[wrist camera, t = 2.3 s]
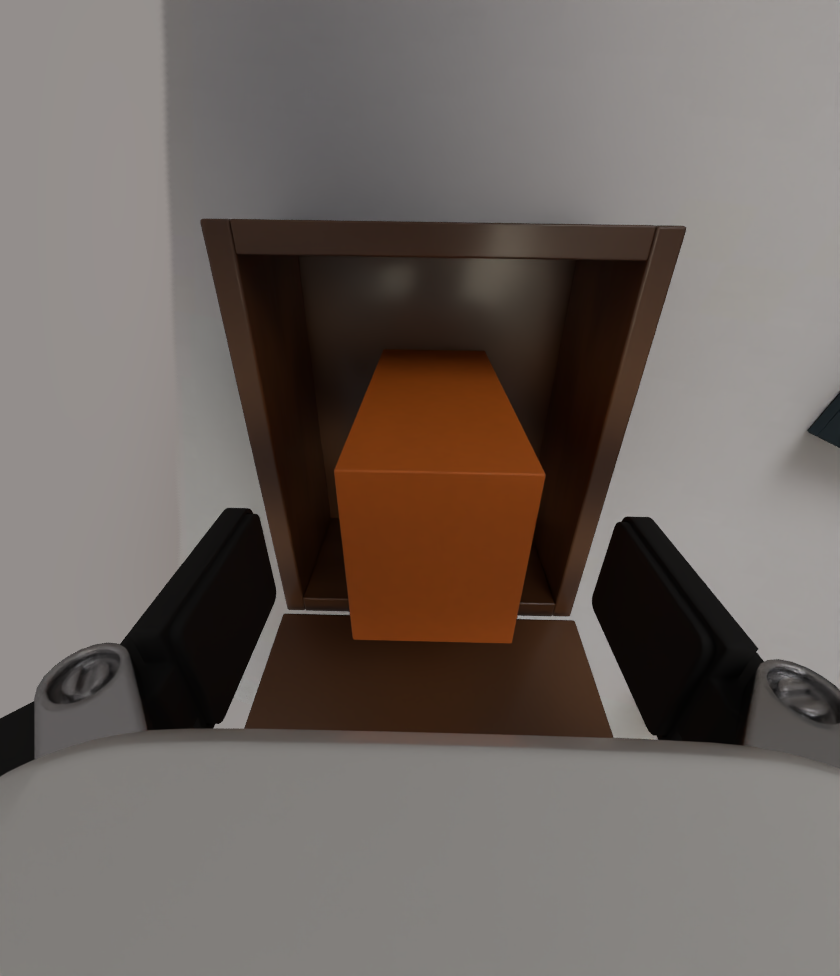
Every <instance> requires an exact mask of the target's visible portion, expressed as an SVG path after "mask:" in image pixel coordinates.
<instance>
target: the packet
mask: <svg viewBox="0 0 840 976" xmlns="http://www.w3.org/2000/svg"><path fill="white" fill-rule="evenodd" d="M334 476H335V485H336V494H337V503H338V511H339V520H340V529H341V538H342V547H343V556H344V565H345V574H346V583H347V592H348V601H349V610H350V619H351V628H352V637H353V639H354V640H389V641H430V642H471V643H512V640H513V635H514V630H515V625H516V620H517V615H518V610H519V605H520V600H521V595H522V590H523V585H524V580H525V575H526V570H527V565H528V560H529V555H530V550H531V545H532V541H533V536H534V531H535V526H536V521H537V516H538V511H539V506H540V501H541V496H542V491H543V486H544V481H545V476H546V475H545V472H544V470H543V468H542V466H541V464H540V462H539V460H538V458H537V456H536V454H535V452H534V450H533V448H532V446H531V444H530V442H529V440H528V438H527V436H526V434H525V432H524V430H523V428H522V426H521V424H520V422H519V420H518V418H517V416H516V413H515V411H514V409H513V407H512V405H511V403H510V401H509V399H508V397H507V395H506V393H505V391H504V389H503V387H502V385H501V383H500V381H499V379H498V377H497V375H496V373H495V371H494V369H493V367H492V365H491V363H490V361H489V359H488V357H487V355H486V353H485V351H456V350H400V349H384V350H383V352H382V354H381V357H380V359H379V362H378V364H377V366H376V369H375V371H374V374H373V376H372V379H371V381H370V384H369V386H368V389H367V391H366V393H365V396H364V398H363V401H362V403H361V406H360V408H359V411H358V413H357V416H356V418H355V420H354V423H353V425H352V428H351V430H350V433H349V435H348V438H347V440H346V442H345V445H344V447H343V450H342V452H341V455H340V457H339V460H338V462H337V465H336V467H335V469H334Z"/></svg>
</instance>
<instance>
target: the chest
mask: <svg viewBox="0 0 840 976" xmlns="http://www.w3.org/2000/svg"><path fill="white" fill-rule="evenodd" d="M200 223H201V227H202V232H203V236H204V240H205V245H206V249H207V254H208V258H209V262H210V267H211V271H212V276H213V280H214V285H215V289H216V293H217V298H218V302H219V307H220V311H221V316H222V320H223V324H224V329H225V333H226V338H227V342H228V347H229V351H230V355H231V360H232V364H233V369H234V373H235V378H236V382H237V386H238V391H239V395H240V400H241V404H242V408H243V413H244V417H245V422H246V426H247V431H248V435H249V439H250V444H251V448H252V453H253V457H254V462H255V466H256V470H257V475H258V479H259V484H260V488H261V493H262V497H263V501H264V506H265V510H266V515H267V519H268V524H269V528H270V532H271V537H272V541H273V546H274V550H275V554H276V559H277V563H278V568H279V572H280V577H281V581H282V585H283V590H284V594H285V599H286V603H287V608H288V609H289V610H305V609H306V610H313V611H350V610H349V601H348V592H347V583H346V574H345V565H344V556H343V547H342V538H341V529H340V520H339V511H338V503H337V494H336V485H335V476H334V469H335V467H336V465H337V462H338V460H339V457H340V455H341V452H342V450H343V447H344V445H345V442H346V440H347V438H348V435H349V433H350V430H351V428H352V425H353V423H354V420H355V418H356V416H357V413H358V411H359V408H360V406H361V403H362V401H363V398H364V396H365V393H366V391H367V389H368V386H369V384H370V381H371V379H372V376H373V374H374V371H375V369H376V366H377V364H378V362H379V359H380V357H381V354H382V352H383V350H384V349H400V350H456V351H485V353H486V355H487V357H488V359H489V361H490V363H491V365H492V367H493V369H494V371H495V373H496V375H497V377H498V379H499V381H500V383H501V385H502V387H503V389H504V391H505V393H506V395H507V397H508V399H509V401H510V403H511V405H512V407H513V409H514V411H515V413H516V416H517V418H518V420H519V422H520V424H521V426H522V428H523V430H524V432H525V434H526V436H527V438H528V440H529V442H530V444H531V446H532V448H533V450H534V452H535V454H536V456H537V458H538V460H539V462H540V464H541V466H542V468H543V470H544V472H545V475H546V476H545V481H544V486H543V491H542V496H541V501H540V506H539V511H538V516H537V521H536V526H535V531H534V536H533V541H532V545H531V550H530V555H529V560H528V565H527V570H526V575H525V580H524V585H523V590H522V595H521V600H520V605H519V610H518V615H523V616H552V615H553V616H570V614H571V611H572V607H573V604H574V601H575V597H576V594H577V591H578V587H579V584H580V581H581V577H582V574H583V571H584V567H585V564H586V561H587V557H588V554H589V551H590V547H591V544H592V541H593V538H594V534H595V531H596V528H597V524H598V521H599V518H600V514H601V511H602V508H603V504H604V501H605V498H606V494H607V491H608V488H609V484H610V481H611V478H612V474H613V471H614V468H615V464H616V461H617V458H618V454H619V451H620V448H621V444H622V441H623V438H624V434H625V431H626V428H627V424H628V421H629V418H630V415H631V411H632V408H633V405H634V401H635V398H636V395H637V391H638V388H639V385H640V381H641V378H642V375H643V371H644V368H645V365H646V361H647V358H648V355H649V351H650V348H651V345H652V341H653V338H654V335H655V331H656V328H657V325H658V321H659V318H660V315H661V311H662V308H663V305H664V301H665V298H666V295H667V292H668V288H669V285H670V282H671V278H672V275H673V272H674V268H675V265H676V262H677V258H678V255H679V252H680V248H681V245H682V242H683V238H684V235H685V232H686V227H684V226H654V225H595V224H529V223H463V222H397V221H332V220H266V219H201V222H200Z"/></svg>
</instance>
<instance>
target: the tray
mask: <svg viewBox="0 0 840 976" xmlns="http://www.w3.org/2000/svg"><path fill="white" fill-rule="evenodd" d="M808 432H809V433H811V434H813V435H815V436H818V437H819V438H821V439H823V440H825V441H827V442H829V443H831V444H833V445H835V446H837V447H839V448H840V394H839V395H838V396H837V397H836V399H835V400H834V401H833V402H832V403H831V404H830V405H829V407H828V408H827V409H826V410H825V411H824V412H823V414H822V415H821V416H820V417H819V418H818V419H817V421H816V422H815V423H814V424H813V425H812V426H811V428H810V429H809V430H808Z"/></svg>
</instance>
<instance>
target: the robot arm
mask: <svg viewBox="0 0 840 976" xmlns="http://www.w3.org/2000/svg"><path fill="white" fill-rule="evenodd" d="M275 598H276V587H275V582H274V578H273V574H272V569H271V565H270V561H269V556H268V552H267V547H266V543H265V539H264V534H263V530H262V526H261V521H260V518H259V516H258V515H257V514H253V512H252V510H251V509H249V508H226V509H225V510H224V511H223V512H222V514H221V515H220V516H219V517H218V519H217V520H216V521H215V523H214V524H213V525H212V526H211V528H210V529H209V530H208V532H207V533H206V534H205V536H204V537H203V538H202V539H201V541H200V542H199V543H198V545H197V546H196V547H195V548H194V550H193V551H192V552H191V554H190V555H189V556H188V557H187V559H186V560H185V561H184V563H183V564H182V565H181V566H180V567H179V569H178V570H177V571H176V573H175V574H174V575H173V577H172V578H171V579H170V580H169V582H168V583H167V584H166V585H165V587H164V588H163V589H162V591H161V592H160V593H159V595H158V596H157V597H156V599H155V600H154V601H153V602H152V604H151V605H150V606H149V607H148V609H147V610H146V611H145V613H144V614H143V615H142V616H141V618H140V619H139V620H138V622H137V623H136V624H135V625H134V627H133V628H132V630H131V631H130V632H129V633H128V635H127V636H126V637H125V639H124V640H123V641H122V642H121V644H116V643H102V644H96V645H92V646H90V647H87V648H84V649H81V650H79V651H77V652H75V653H73V654H71V655H70V656H68V657H66V658H65V659H63V660H62V661H61V662H59V663H58V664H57V665H55V666H54V667H53V668H52V669H51V670H50V671H49V672H48V673H47V674H46V675H45V676H44V677H43V679H42V681H41V682H40V684H39V685H38V687H37V690H36V694H35V699H34V702H32V703H30V704H28V705H26V706H24V707H22V708H20V709H18V710H16V711H14V712H12V713H10V714H8V715H6V716H4V717H3V718H0V976H840V690H839V689H838V688H837V687H836V686H835V685H833V684H832V683H831V682H829V681H828V680H827V679H825V678H824V677H822V676H821V675H819V674H817V673H816V672H814V671H812V670H810V669H808V668H806V667H804V666H801V665H798V664H796V663H793V662H789V661H784V660H779V659H778V660H767V661H765V662H764V661H763V660H762V659H761V658H760V656H759V655H758V654H757V653H756V651H757V650H758V648H757V647H756V645H755V644H754V643H753V642H752V640H751V639H750V638H749V637H748V636H747V634H746V633H745V632H744V631H743V629H742V628H741V627H740V626H739V625H738V623H737V622H736V621H735V620H734V618H733V617H732V616H731V615H730V614H729V612H728V611H727V610H726V609H725V607H724V606H723V605H722V604H721V603H720V601H719V600H718V599H717V598H716V596H715V595H714V594H713V593H712V591H711V590H710V589H709V588H708V587H707V585H706V584H705V583H704V582H703V580H702V579H701V578H700V577H699V576H698V574H697V573H696V572H695V571H694V569H693V568H692V567H691V566H690V565H689V563H688V562H687V561H686V560H685V558H684V557H683V556H682V555H681V554H680V552H679V551H678V550H677V549H676V547H675V546H674V545H673V544H672V543H671V541H670V540H669V539H668V538H667V536H666V535H665V534H664V533H663V531H662V530H661V529H660V528H659V527H658V525H657V524H656V523H655V522H654V520H652V519H651V518H649V517H625V518H624V519H623V520H622V522H618V523H617V524H616V525H615V527H614V531H613V534H612V537H611V540H610V543H609V546H608V549H607V552H606V556H605V559H604V562H603V565H602V568H601V571H600V574H599V577H598V581H597V584H596V587H595V590H594V593H593V597H592V605H593V609H594V612H595V614H596V616H597V619H598V621H599V623H600V625H601V627H602V630H603V632H604V634H605V636H606V638H607V641H608V643H609V645H610V647H611V649H612V652H613V654H614V656H615V658H616V661H617V663H618V665H619V667H620V669H621V672H622V674H623V676H624V678H625V680H626V683H627V685H628V687H629V689H630V692H631V694H632V696H633V698H634V700H635V703H636V705H637V707H638V709H639V711H640V714H641V716H642V718H643V720H644V723H645V725H646V727H647V729H648V731H649V732H650V733H651V734H652V735H657V738H658V740H649V739H626V738H595V737H564V736H533V735H499V734H463V733H426V732H387V731H342V730H296V729H213V728H214V725H215V724H219V723H221V722H222V721H223V719H224V717H225V715H226V713H227V711H228V709H229V706H230V704H231V702H232V699H233V697H234V695H235V692H236V690H237V688H238V685H239V683H240V681H241V679H242V676H243V674H244V672H245V669H246V667H247V665H248V662H249V660H250V658H251V655H252V653H253V651H254V648H255V646H256V644H257V642H258V639H259V637H260V635H261V632H262V630H263V628H264V625H265V623H266V621H267V618H268V616H269V614H270V612H271V609H272V607H273V605H274V602H275Z"/></svg>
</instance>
